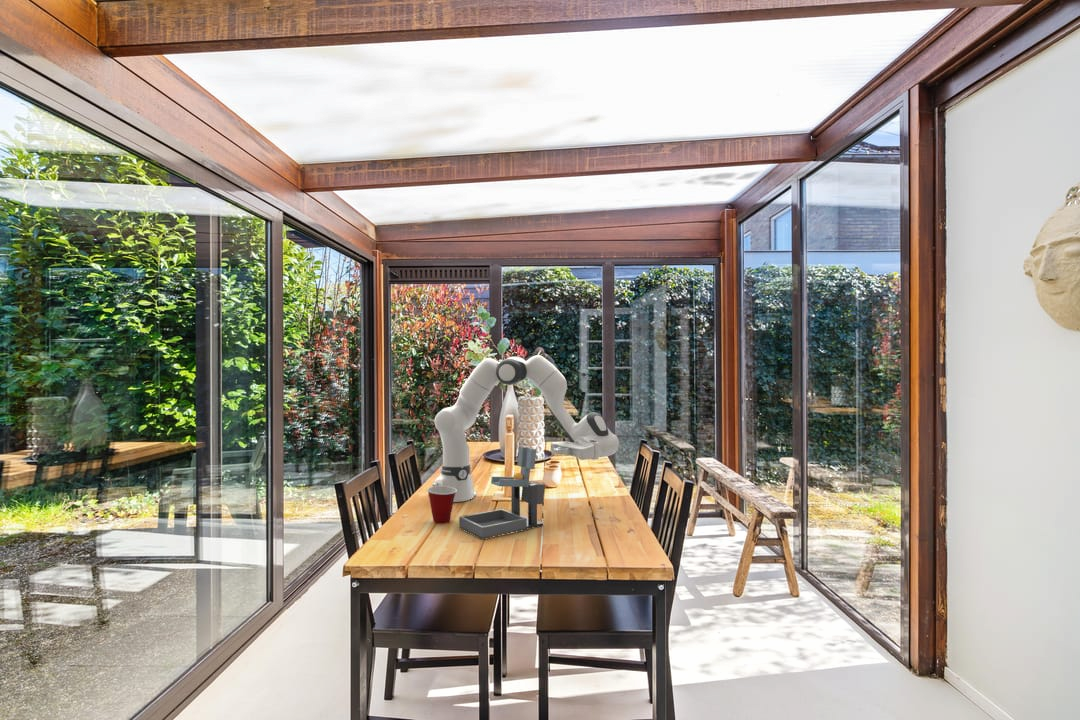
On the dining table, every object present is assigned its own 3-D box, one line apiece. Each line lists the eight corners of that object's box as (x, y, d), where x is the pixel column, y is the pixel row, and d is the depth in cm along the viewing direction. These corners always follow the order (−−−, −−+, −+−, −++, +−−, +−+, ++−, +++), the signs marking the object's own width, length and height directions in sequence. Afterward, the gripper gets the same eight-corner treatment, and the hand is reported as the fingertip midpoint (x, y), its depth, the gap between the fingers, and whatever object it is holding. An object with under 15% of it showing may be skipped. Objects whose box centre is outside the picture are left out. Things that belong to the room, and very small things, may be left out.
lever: (487, 500, 208) (493, 444, 209) (531, 499, 218) (536, 447, 220) (499, 505, 201) (506, 447, 202) (544, 504, 212) (550, 450, 213)
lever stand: (505, 520, 215) (505, 479, 215) (521, 517, 219) (521, 477, 219) (526, 529, 204) (526, 486, 204) (543, 525, 208) (543, 484, 208)
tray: (459, 528, 206) (459, 516, 205) (502, 519, 216) (502, 508, 216) (482, 539, 192) (482, 527, 192) (526, 530, 203) (526, 518, 203)
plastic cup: (451, 526, 207) (451, 492, 207) (422, 524, 210) (422, 491, 209) (461, 518, 218) (461, 485, 218) (433, 516, 220) (433, 484, 220)
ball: (511, 482, 210) (511, 472, 210) (519, 481, 212) (519, 471, 213) (516, 484, 207) (516, 474, 208) (525, 483, 210) (525, 473, 210)
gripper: (567, 436, 236) (539, 439, 228) (601, 442, 219) (572, 446, 211) (567, 452, 236) (539, 456, 228) (601, 459, 219) (572, 463, 211)
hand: (555, 451), depth 220 cm, fingers closed
